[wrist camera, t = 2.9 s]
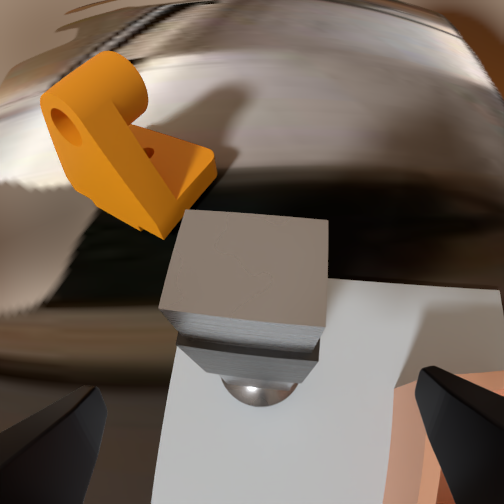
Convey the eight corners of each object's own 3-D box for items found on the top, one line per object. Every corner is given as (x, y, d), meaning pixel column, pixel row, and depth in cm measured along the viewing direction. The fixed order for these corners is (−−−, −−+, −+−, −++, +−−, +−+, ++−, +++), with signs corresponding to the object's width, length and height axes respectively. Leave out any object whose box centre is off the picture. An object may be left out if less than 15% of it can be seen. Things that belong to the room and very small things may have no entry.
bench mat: (490, 530, 10) (493, 531, 10) (149, 538, 12) (146, 540, 12) (496, 292, 19) (499, 290, 18) (195, 268, 21) (194, 266, 21)
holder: (493, 499, 11) (535, 505, 7) (378, 524, 12) (407, 547, 8) (502, 381, 15) (544, 364, 11) (393, 388, 16) (427, 375, 12)
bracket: (223, 177, 25) (201, 36, 15) (167, 246, 22) (102, 103, 12) (131, 143, 28) (92, 34, 18) (79, 196, 25) (16, 88, 15)
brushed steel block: (296, 411, 16) (354, 381, 5) (216, 401, 16) (119, 350, 6) (304, 335, 18) (352, 189, 7) (228, 328, 19) (172, 176, 8)
